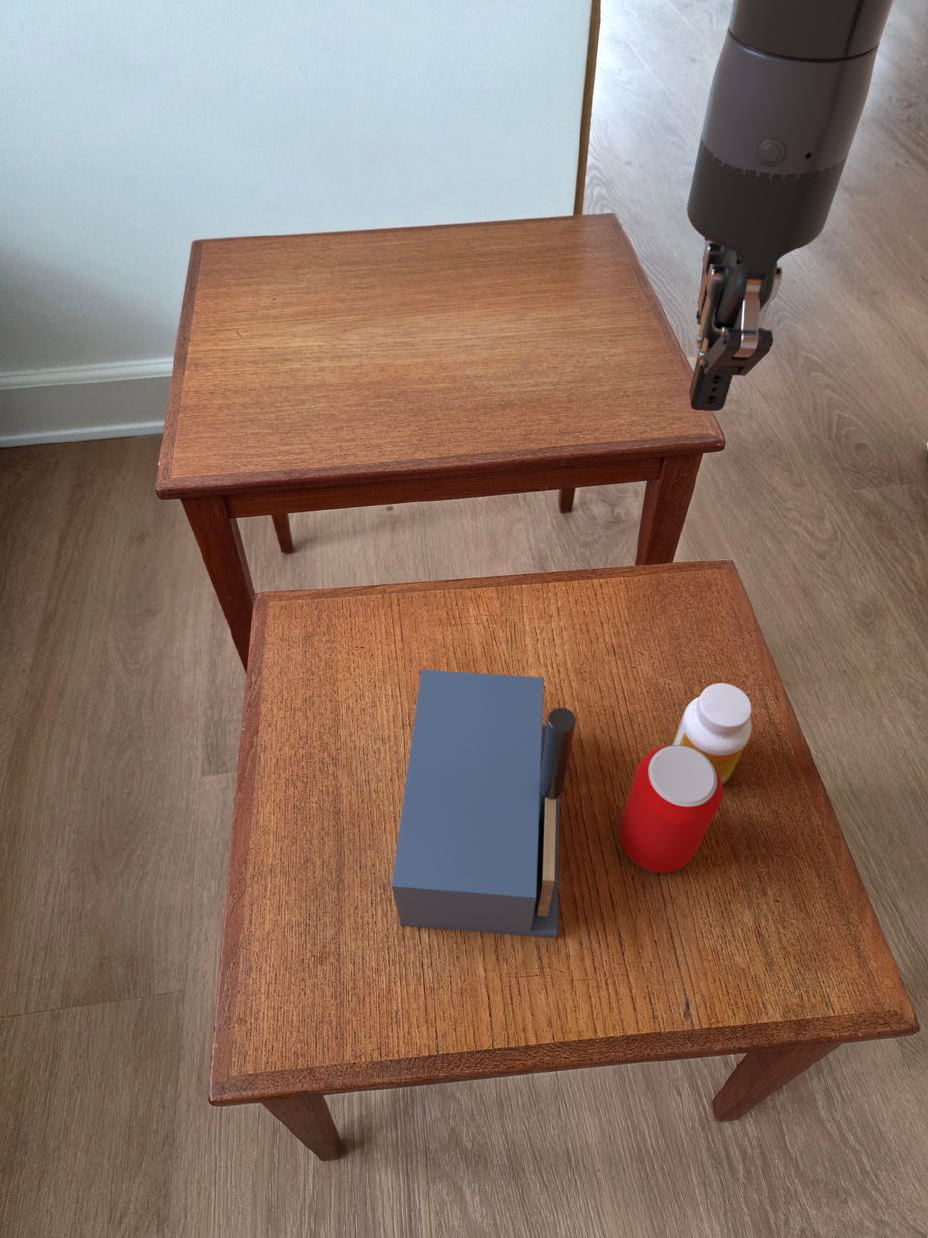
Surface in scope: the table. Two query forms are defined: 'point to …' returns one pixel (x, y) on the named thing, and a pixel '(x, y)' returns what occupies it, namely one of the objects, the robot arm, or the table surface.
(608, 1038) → the table surface
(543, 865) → the brown flat handled piece
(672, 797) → the beverage can
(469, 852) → the cabinet
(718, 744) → the supplement bottle
